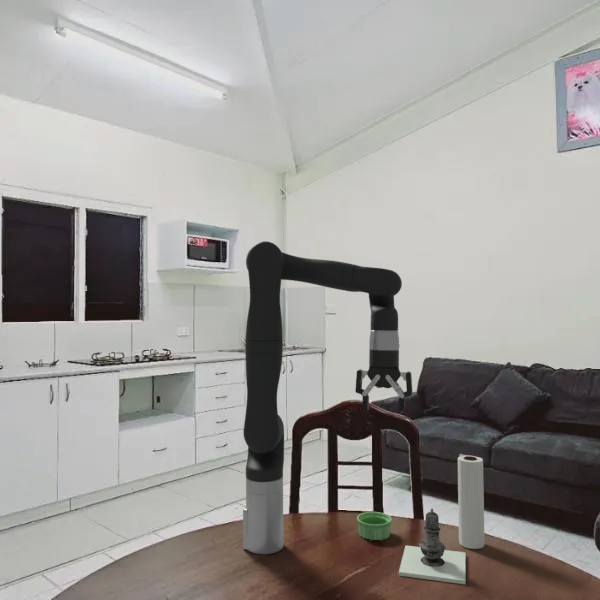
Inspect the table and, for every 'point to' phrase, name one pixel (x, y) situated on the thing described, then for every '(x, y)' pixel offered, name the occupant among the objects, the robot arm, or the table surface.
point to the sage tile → (446, 573)
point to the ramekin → (374, 525)
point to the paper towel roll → (471, 501)
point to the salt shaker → (432, 542)
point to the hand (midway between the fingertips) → (383, 411)
